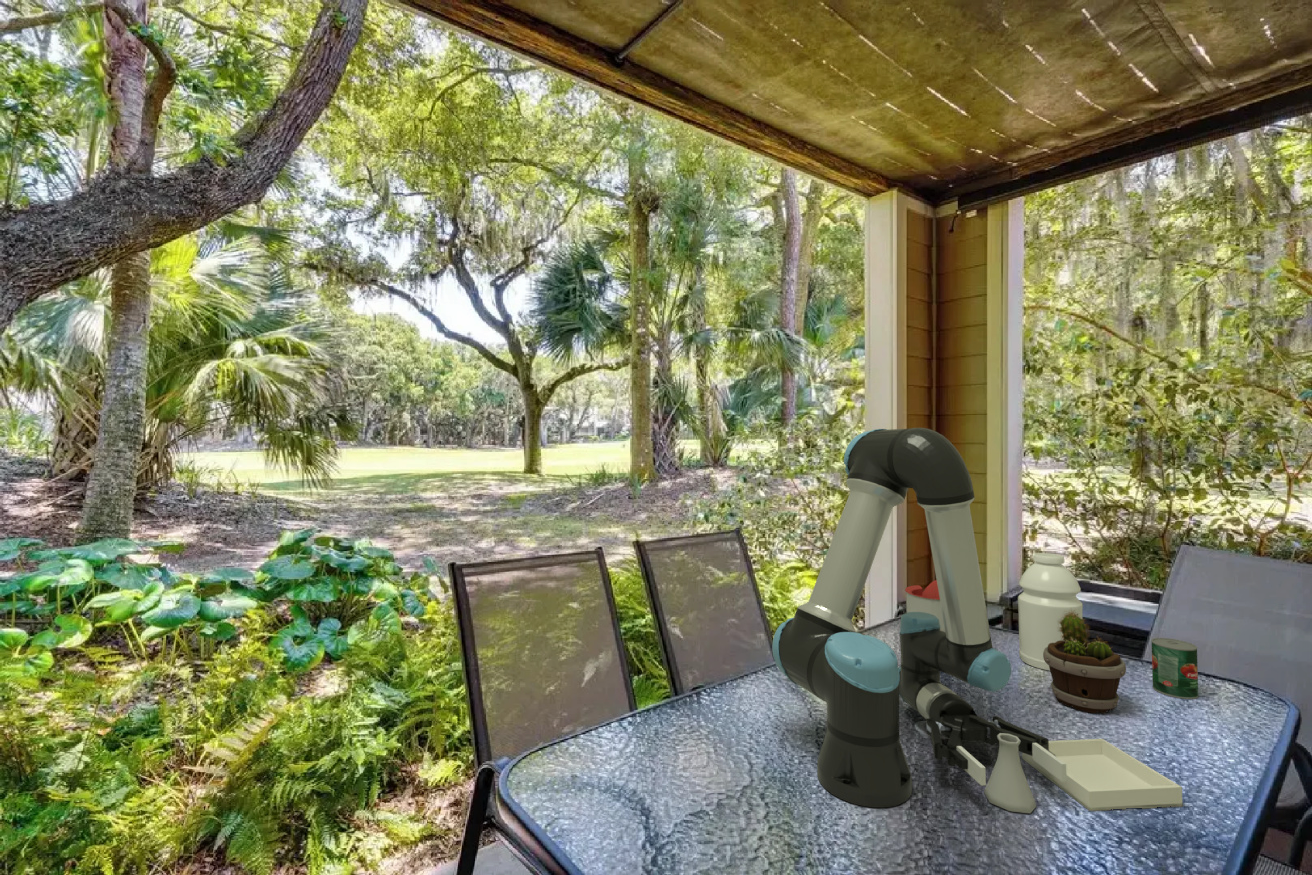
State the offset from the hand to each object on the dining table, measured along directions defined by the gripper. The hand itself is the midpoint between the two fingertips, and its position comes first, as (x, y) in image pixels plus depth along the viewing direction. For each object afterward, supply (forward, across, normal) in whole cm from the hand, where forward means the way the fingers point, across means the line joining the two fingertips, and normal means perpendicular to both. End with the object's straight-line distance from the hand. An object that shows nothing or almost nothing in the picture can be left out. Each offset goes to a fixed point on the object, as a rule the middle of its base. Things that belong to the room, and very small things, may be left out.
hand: (1024, 774), depth 90 cm
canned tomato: (-40, -64, -6) cm, 75 cm away
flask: (-4, 0, -6) cm, 7 cm away
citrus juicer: (-69, -24, -6) cm, 73 cm away
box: (-8, -18, -6) cm, 20 cm away
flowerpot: (-36, -39, -6) cm, 53 cm away
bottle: (-59, -49, -6) cm, 77 cm away
